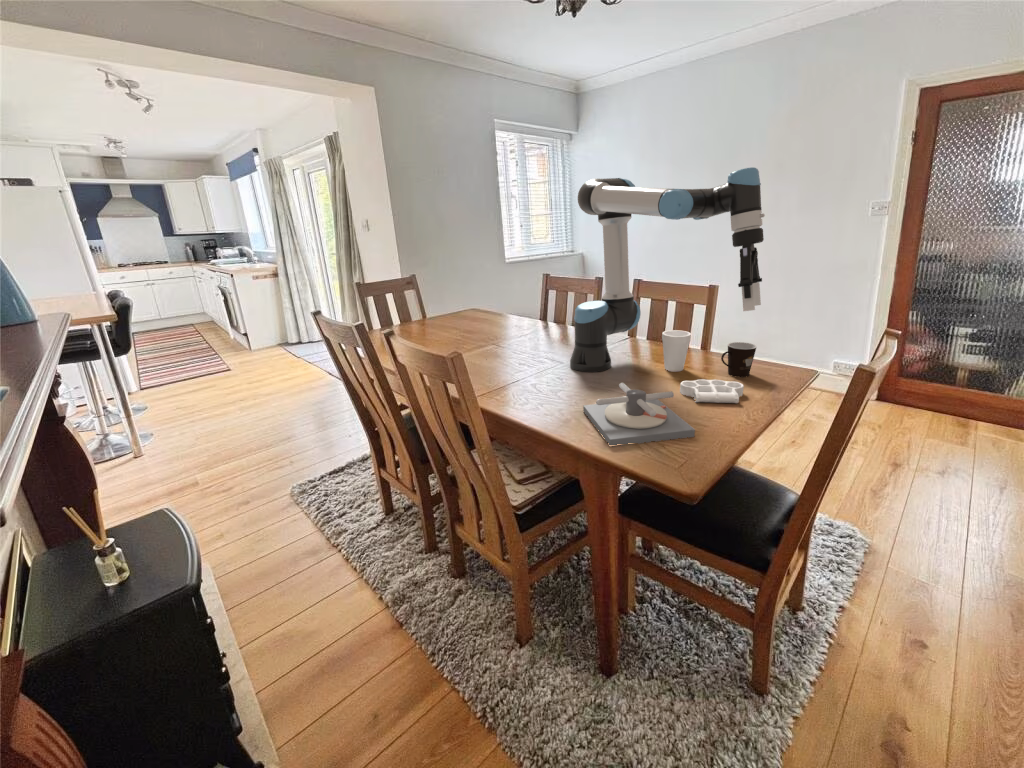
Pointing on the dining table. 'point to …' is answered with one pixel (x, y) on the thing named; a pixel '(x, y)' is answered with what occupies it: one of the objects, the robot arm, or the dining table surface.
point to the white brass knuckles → (712, 390)
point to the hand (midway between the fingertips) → (752, 308)
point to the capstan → (635, 409)
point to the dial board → (623, 435)
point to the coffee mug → (739, 358)
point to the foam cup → (675, 349)
